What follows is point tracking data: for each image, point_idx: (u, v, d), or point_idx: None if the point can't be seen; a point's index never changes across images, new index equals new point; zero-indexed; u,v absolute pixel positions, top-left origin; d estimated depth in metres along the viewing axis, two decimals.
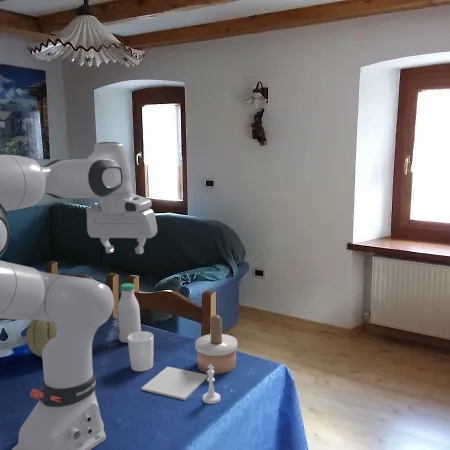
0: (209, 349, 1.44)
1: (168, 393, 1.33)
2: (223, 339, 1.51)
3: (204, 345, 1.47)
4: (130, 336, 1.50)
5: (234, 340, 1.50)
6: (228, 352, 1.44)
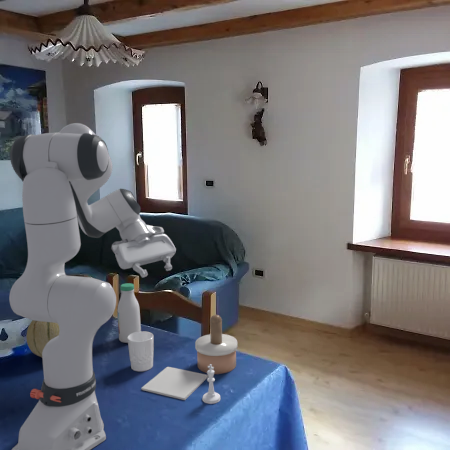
0: (209, 349, 1.44)
1: (168, 393, 1.33)
2: (223, 339, 1.51)
3: (204, 345, 1.47)
4: (130, 336, 1.50)
5: (234, 340, 1.50)
6: (228, 352, 1.44)
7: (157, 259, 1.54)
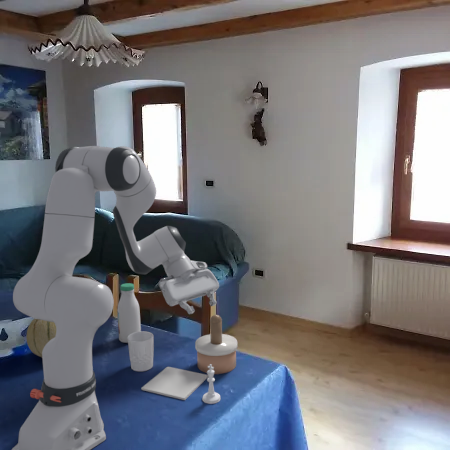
0: (209, 349, 1.44)
1: (168, 393, 1.33)
2: (223, 339, 1.51)
3: (204, 345, 1.47)
4: (130, 336, 1.50)
5: (234, 340, 1.50)
6: (228, 352, 1.44)
7: (201, 294, 1.56)
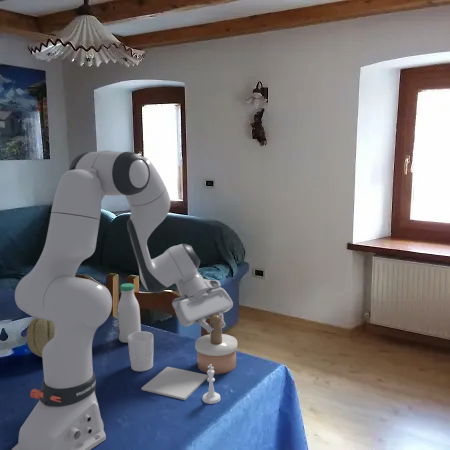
0: (209, 349, 1.44)
1: (168, 393, 1.33)
2: (223, 339, 1.51)
3: (204, 345, 1.47)
4: (130, 336, 1.50)
5: (234, 340, 1.50)
6: (228, 352, 1.44)
7: (215, 314, 1.53)
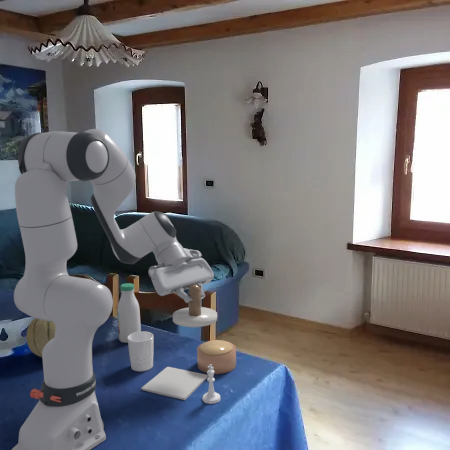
0: (187, 320, 1.36)
1: (168, 393, 1.33)
2: (202, 311, 1.43)
3: (181, 316, 1.39)
4: (130, 336, 1.50)
5: (214, 312, 1.42)
6: (206, 323, 1.36)
7: None
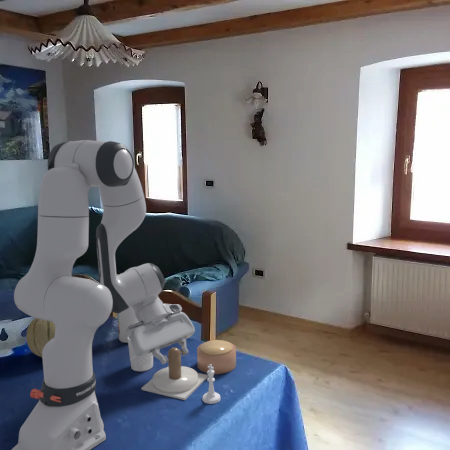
0: (166, 385, 1.34)
1: (168, 393, 1.33)
2: (183, 373, 1.41)
3: (161, 380, 1.37)
4: None
5: (194, 374, 1.40)
6: (186, 388, 1.34)
7: (175, 341, 1.43)
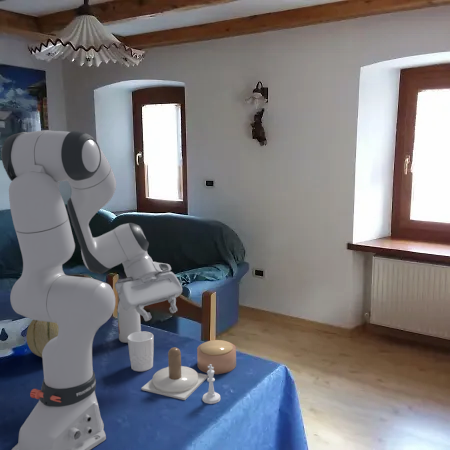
0: (166, 385, 1.34)
1: (168, 393, 1.33)
2: (183, 373, 1.41)
3: (161, 380, 1.37)
4: (130, 336, 1.50)
5: (194, 374, 1.40)
6: (186, 389, 1.34)
7: (162, 299, 1.44)
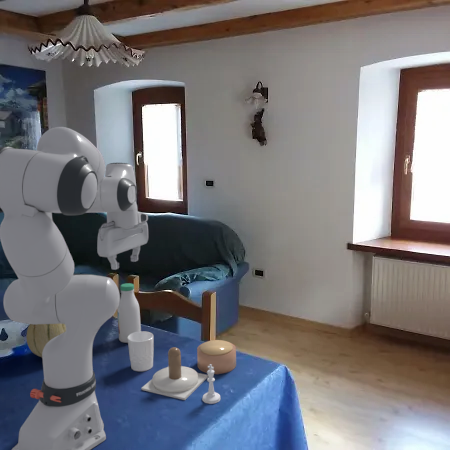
0: (166, 384, 1.34)
1: (168, 393, 1.33)
2: (183, 373, 1.41)
3: (161, 379, 1.37)
4: (130, 336, 1.50)
5: (194, 374, 1.40)
6: (186, 388, 1.34)
7: None
